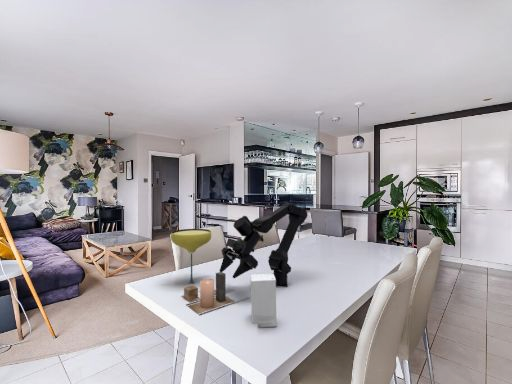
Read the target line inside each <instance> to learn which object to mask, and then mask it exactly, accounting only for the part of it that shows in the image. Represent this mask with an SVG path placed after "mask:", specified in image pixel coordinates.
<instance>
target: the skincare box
mask: <svg viewBox="0 0 512 384" xmlns="http://www.w3.org/2000/svg"><path fill="white" fill-rule="evenodd" d="M250 301H251V302H250V303H251V304H250V305H251V324H257V328H271V327H272V328H275V327H277V286H276V279H275V276H274V274H273V273H262V274H260V273H258V274H254V273H253V274H250Z"/></svg>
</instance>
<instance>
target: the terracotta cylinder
mask: <svg viewBox="0 0 512 384" xmlns="http://www.w3.org/2000/svg"><path fill="white" fill-rule="evenodd" d="M199 284H200V286H199V287H200V288H199V291H200V292H199V294H200V295H199V298H200V306H201V307H202V308H210V307H213V306H214V298H215V297H214V296H215V295H214V290H215V280H214V278H213V279H212V278H204V279H201V280H200V282H199Z"/></svg>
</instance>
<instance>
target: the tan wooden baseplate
mask: <svg viewBox="0 0 512 384" xmlns="http://www.w3.org/2000/svg"><path fill="white" fill-rule="evenodd" d="M226 285H227V283H226V273H225V272H224V271H223V272H220V271H219V272H215V290H216V295H215V296H216V297H214V306H213V307H210V308H202V307H201V306H200V302H197V303H194V304H191V305H188V306H187V308H189V309H191V311H192V312H194V313H196V314H197V315H198V314H201V313H204V312H207V311H210V310H213V309H216V308H219V307H222V306H225V305H228V304H230V303H233V302H236V301H235V300H234V299H232V298H230V297H229V296H228V295H227V293H226V292H227V291H226V290H227V289H226ZM226 295H227V296H226Z"/></svg>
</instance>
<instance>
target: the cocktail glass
mask: <svg viewBox="0 0 512 384" xmlns="http://www.w3.org/2000/svg"><path fill="white" fill-rule="evenodd" d="M211 239H212V230H210V229H204V228H186V229H184V228H183V229H179V230H177V229H176V230H173V231H171V234H170V240H171V242H172V243H173V244H174V245H176V246H178V247H180V248H183V249H184V250H186V251H187V252H188V253H189V254H190V277H189V278H190V279H189V281H188V284H191V285H194V284H195V281H194V276H193V254H194V253H195V252H196V251H197V249H199V248H201V247H203V246H205V245H206V244H208V243H209V242H210V241H211Z"/></svg>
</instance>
